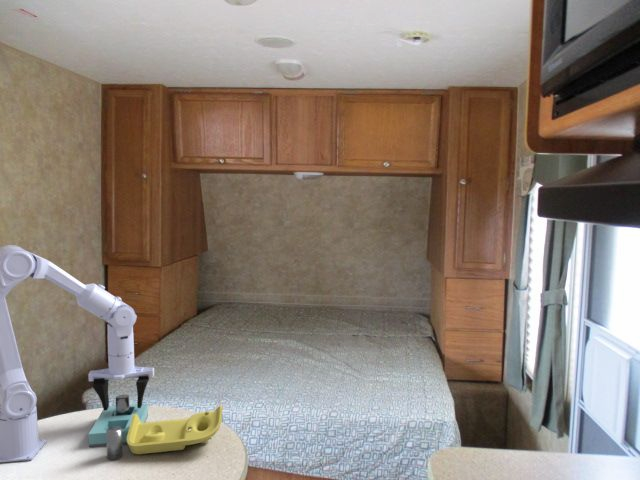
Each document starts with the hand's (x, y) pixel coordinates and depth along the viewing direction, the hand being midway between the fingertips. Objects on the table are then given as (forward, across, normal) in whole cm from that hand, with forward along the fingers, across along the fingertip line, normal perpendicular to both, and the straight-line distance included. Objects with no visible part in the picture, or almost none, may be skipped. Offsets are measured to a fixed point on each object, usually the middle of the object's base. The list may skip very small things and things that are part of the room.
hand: (123, 407), depth 119 cm
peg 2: (+3, 0, 0) cm, 3 cm away
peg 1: (+4, +2, -16) cm, 16 cm away
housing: (+4, 0, -4) cm, 5 cm away
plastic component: (+4, +14, -12) cm, 19 cm away
